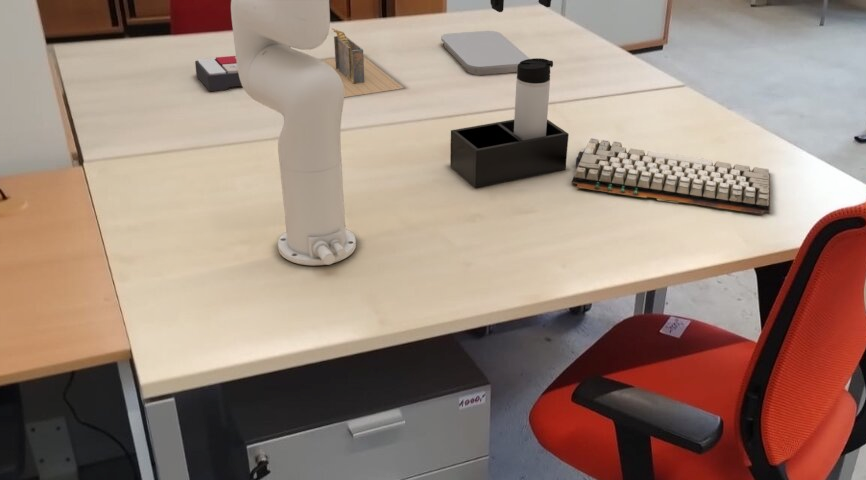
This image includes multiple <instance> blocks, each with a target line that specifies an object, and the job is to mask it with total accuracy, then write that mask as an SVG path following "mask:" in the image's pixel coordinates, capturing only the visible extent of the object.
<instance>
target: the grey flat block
mask: <svg viewBox="0 0 866 480" xmlns="http://www.w3.org/2000/svg"><path fill="white" fill-rule="evenodd" d="M440 39H441V42H442V43H443V47H444V49H446V50H447V51H448V52H449V53H450V55H451V56H452V57H453V58H454V59H455V60H456V61H457V62H458V63H459V65H461V67H463V68H464V69H465V70H466V71H467V72H468V73H469V74H471V75H475V76H484V75H485V76H486V75H498V74H507V73H518V72H517V66H518V64H520V62H521V61H523V60H527V59H531V58H530V57H529V56H527V55H526V53H524V52H523V51H522V50H521V49H519V48H518V47H517V46H516V45H515V44H514V43H513V42H511V40H509V39H508V38H507V37H506V36H504V35H503V34H502V33H501V32H499V31H494V30H479V31H465V32H464V31H463V32H451V33H445V34H442V35H441V37H440Z"/></svg>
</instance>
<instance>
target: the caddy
mask: <svg viewBox="0 0 866 480" xmlns="http://www.w3.org/2000/svg"><path fill="white" fill-rule="evenodd" d="M568 143H569V133H568V132H567V131H566V130H564V129H562V128H561V127H559V126H558V125H556V124H555V123H554V122H553V121H551V120H549V119H548V118H547V128H546V136H544V137H539V138H533V139H528V140H522V139H521V138H519V137H518V136H517V135H515V134H514V119H509V120H502V121H496V122H491V123H485V124H480V125H474V126H473V125H472V126H468V127H461V128H456V129H450V152H449V153H450V154H449V155H450V157H449V158H450V159H449V160H450V163H449V165H450V166H449V167H450V168H451V169H452V170H454V172H456V173H457V174H458V175H459V176H460V177H462V178H463V179H464V180H465V181H466V182H467V183H468V184H469V185H471V186H472V187H473V188H474V189H478V188H482V187H483V188H484V187H488V186H493V185H498V184H503V183H508V182H513V181H517V180H523V179H528V178H533V177H537V176H541V175H547V174H552V173H556V172H561V171H566V168H567V157H568V146H569V145H568Z"/></svg>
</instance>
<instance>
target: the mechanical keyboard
mask: <svg viewBox="0 0 866 480" xmlns="http://www.w3.org/2000/svg"><path fill="white" fill-rule="evenodd" d="M577 155H578V156H576V159H575V167H576V169H575V172H574V175H573V177H572V179H571V183H572V184H574V185H576V188H578V189H583V190H584V189H585V190H590V191H597V192H602V193H609V194H618V195H622V196H623V195H624V196H630V197H636V198H645V199H648V198H653V199H656V201H660V202H668V203H675V204H679V203H684V204H691V205H698V206H702V207H710V208H713V209H718V210H729V211H734V212H741V213H748V214H756V215H763V214H764V213H771V173H770V170H769V168H765V167H757V166H754V167H753V169H752V170H751V167H750V165H743V164H739V163H736V164H734V166H733V167H732V163H731V162H723V161H716V162H715V163H714V164H713V160H712V159H707V158H701V157H694V156H688V155H680V154H676V153H675V154H674V153H668V152H663V151H662V152H660V151H655V150H654V151H653V150H649V151H647V153H645V150H644V149H637V148H632V147H631V148H629V150H628V152H627V148H626V147H623V145H622V142H620V141H613V142H612V143H610V141H609V140H604V139H603V140H602V139H601V141H600V140H599V139H598V138H590V139H589V141H588V143H587V144H586V145H585V148H584V149H583V151H579V152H578V154H577Z"/></svg>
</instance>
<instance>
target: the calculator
mask: <svg viewBox="0 0 866 480" xmlns="http://www.w3.org/2000/svg"><path fill="white" fill-rule="evenodd" d="M194 63H195V65H194V66H195V75H196V77H197V78H198V80H199V81H200V82H201V83H202V85H204V87H205V88H206V89H207V91H209V92H216V91H217V92H218V91H227V90H228V89H229V88H231V87H242V84H241V82H240V78H239V74H238V68H237V61H236V55H229V56H216V57H215V58H200V59H197V60H195V61H194Z"/></svg>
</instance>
